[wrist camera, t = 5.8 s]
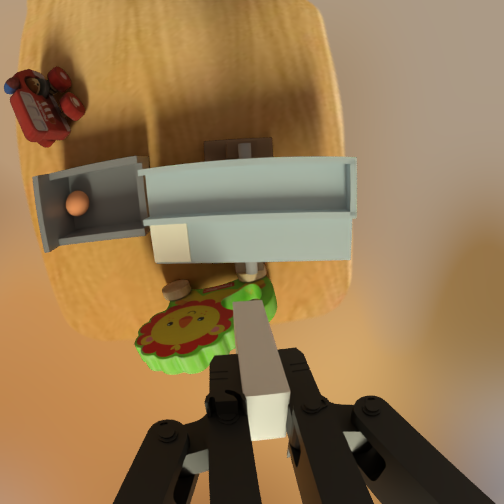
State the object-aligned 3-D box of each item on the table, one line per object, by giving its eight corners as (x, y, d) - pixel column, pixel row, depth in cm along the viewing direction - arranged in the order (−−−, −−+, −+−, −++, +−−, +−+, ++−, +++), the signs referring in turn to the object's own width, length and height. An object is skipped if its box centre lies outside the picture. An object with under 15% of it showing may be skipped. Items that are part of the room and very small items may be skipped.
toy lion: (262, 256, 38) (289, 314, 23) (271, 292, 39) (299, 362, 25) (148, 285, 37) (115, 353, 23) (162, 319, 39) (140, 394, 24)
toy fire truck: (62, 61, 26) (23, 40, 16) (94, 124, 30) (54, 114, 20) (28, 94, 26) (-16, 83, 16) (57, 156, 30) (11, 159, 20)
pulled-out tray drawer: (65, 172, 31) (32, 177, 23) (148, 156, 32) (129, 155, 24) (74, 234, 34) (44, 252, 26) (155, 224, 35) (139, 242, 27)
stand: (204, 142, 32) (200, 137, 26) (270, 138, 33) (281, 133, 27) (213, 261, 37) (213, 280, 31) (275, 255, 38) (286, 274, 32)
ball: (67, 192, 31) (61, 194, 28) (89, 187, 32) (85, 189, 29) (71, 216, 32) (65, 220, 29) (92, 211, 33) (88, 215, 30)
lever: (150, 154, 28) (136, 154, 24) (347, 142, 25) (355, 140, 22) (164, 271, 32) (153, 282, 29) (346, 267, 29) (353, 280, 26)
